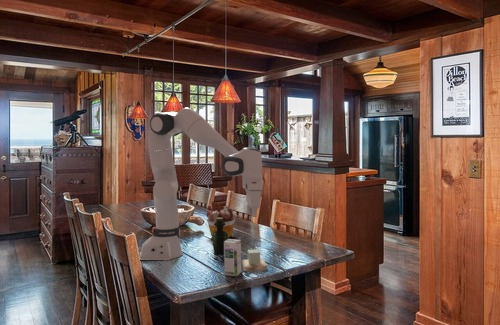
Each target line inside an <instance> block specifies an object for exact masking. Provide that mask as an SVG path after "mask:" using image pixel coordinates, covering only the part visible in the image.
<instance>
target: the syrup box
mask: <svg viewBox="0 0 500 325" xmlns="http://www.w3.org/2000/svg"><path fill="white" fill-rule="evenodd" d="M223 256H224V258H223V259H224V276H229V277H237V276H239V275H240V274H241V273H242V240H241V239H234V238H233V239H231V238H228V240H226V241H225V242H224V255H223Z"/></svg>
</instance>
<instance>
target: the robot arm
mask: <svg viewBox="0 0 500 325" xmlns="http://www.w3.org/2000/svg"><path fill="white" fill-rule="evenodd" d="M149 128H150V131H149V132H148V135H147V142H148V143H147V144H148V145H147V148H148V156H149V160H150V162H149V163H150V168H151V171H152V174H153V178H154V182H155V183H154V185H153V188H152V193H153V196H152V197H153V203H154V210H155V226H153V227H152V229H151V234H152V236H150V237H149V238H148V239H146V240H145V241H144V242H142V245H141V249H140V250H141V251H139V252H138V253H140V258H141V260H164V261H165V262H166V261H170V260H172V259H175V258H180V257H181V256H183V254H184V253H183V250H182V246H181V239H180V237H181V229H180V228H181V226H179V209H178V194H177V193H178V192H179V191H178V190H179V182H178V178H177V173H176V168H175V163H174V162H175V161H174V156H173V149H172V148H173V147H172V143H171V140H172V137H173V136H174V137H177V136H178V135H180V134H183V133H184V134H185V135H186V136H188V139H190V140H191V141H192V142H194V143H196V144H197V145H199V146H204V147H208V148H213V149H215V150H216V151H218V153H219V152H220V153H221V154H222V155H223V156H224V159H223V160H222V161H221V170H222V172H223V173H224V174H225V175H226V176H228V177H237V176H238V177H239V176H241V177H242V189H245V193H246V197H245V199H246V202H247V203H248V208H249V213H250V214H251V217H252V218H257V216H258V215H257V213H258V209H259V208H260V207H261V200H262V190H263V174H262V169H263V159H262V152H261V150H260V149H258V148H256V147H252V146H251V147H250V146H247V147H243V148H242V149H241V150H238V149H237V148H236V147H235V146H234V145H233V144H231V143H230V142H229V141H228V140H227V139H226V138H225V137H224V136H222V135H221V134H220V133H219V132H218V131H217V130H216V129H215V128H214V127H213V126H212V125H211V124H210V123H209V122H208V121H207V120H206V119H205V118H204V117H203V116H202V115H201V114H199V113H198V112H197V111H195V110H193V109H192V108H191V107H184V108H181V109H180V110H179V111H165V112H158V113H155V114H153V115H151V117H150V119H149ZM164 261H163V262H164Z"/></svg>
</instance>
